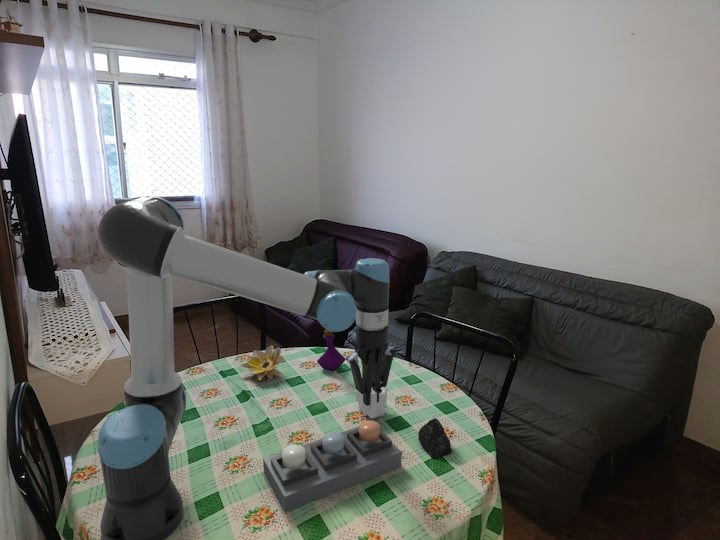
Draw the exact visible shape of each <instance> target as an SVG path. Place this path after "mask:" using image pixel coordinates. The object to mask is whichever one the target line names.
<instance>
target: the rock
mask: <svg viewBox="0 0 720 540" xmlns="http://www.w3.org/2000/svg"><path fill="white" fill-rule="evenodd" d="M418 441H419V443H420V445H421V447H422V448H423V449H425V451H426V452H427V453H428V455H429V456H430V458H432V460H438V459H439V457H440V458H443V457H444V456H445V457H446V456H448V455H452V454H453V450H452V446H451V440H450V439H449V437H448V435H447V433H446V430H445V428H444V427H443V425H442V424H441V421H439V419H438V418H436V417H434V418H432V419H430V420H429V421H427V422H426V423H425V424H424V425H422V426H421V428H420V429H419V431H418Z"/></svg>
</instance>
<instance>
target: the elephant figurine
mask: <svg viewBox="0 0 720 540" xmlns="http://www.w3.org/2000/svg"><path fill="white" fill-rule="evenodd" d="M381 390H382V392H381V393H379V402H377V412H376V417H374V418H377V417H382V416H385V414H386V412H387V415H388V416H389V415H390V414H389V407H388V405H387V404H386V403H387V399H388V392H387V391H388V386H386V387H382V388H381ZM353 393H354V395H355V400H356V402H357V403H358V404H357V405H358V409H359V411H360V412H361V413H362V414H363V416H364V417H369V416H368V415H367V414H366V405H365V404H364V403H363V394H361V393H360V392H359V391H358V390H356V388H355V389H354V390H353ZM374 418H373V419H374Z"/></svg>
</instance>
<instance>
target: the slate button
mask: <svg viewBox="0 0 720 540" xmlns="http://www.w3.org/2000/svg"><path fill="white" fill-rule="evenodd" d="M321 439H322V449H323V451H324V452H325V453H326V454H329V455H337V454H340V453H342V452H343V450H344V436H343V435H342V434H341V432H337V431H330V432H327V433H325V434H324V435H323V436H322V438H321Z"/></svg>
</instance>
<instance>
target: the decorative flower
mask: <svg viewBox="0 0 720 540" xmlns="http://www.w3.org/2000/svg"><path fill="white" fill-rule="evenodd" d="M264 351H265V352H264ZM264 351H262V350H261V351H260V350H254V351H253V352H252V357H248V360H247V361H246V362H244V363H242V364H239V367H241V368H244V369H247V370H248V372H249V373H252V374H254V375H257V378H258V380H259V381H260V380H262V379H263V378H264V377H265V376H266V377H267V379H269V380H272V379H273V378H274V376H277V377H280V376H282V374H283V373H282V372H281V371H280V370H278V369H277V366H279V365H281V364H282V363H284V362H285V358H284V356H282V355H281V353H282V350H281V348H280V347H276V348H275V349H274V346H273V345H269V346H268V347H266V349H265V350H264Z"/></svg>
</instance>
